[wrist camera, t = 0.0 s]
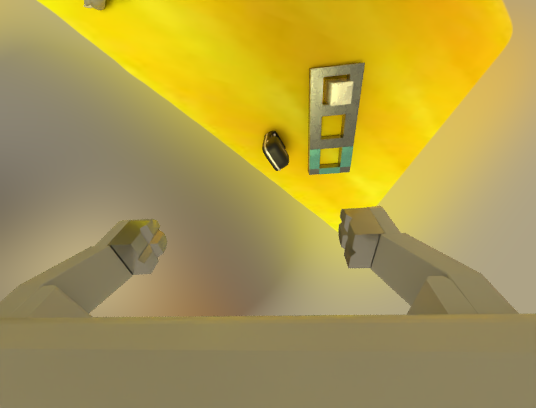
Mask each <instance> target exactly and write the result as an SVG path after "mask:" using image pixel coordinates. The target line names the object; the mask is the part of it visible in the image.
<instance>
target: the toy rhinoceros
mask: <svg viewBox="0 0 536 408" xmlns="http://www.w3.org/2000/svg"><path fill="white" fill-rule="evenodd" d="M105 1H106V0H84V4H85V5H84V7H87V8H95V9H97V10H102V9H104V8H105Z"/></svg>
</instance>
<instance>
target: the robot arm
mask: <svg viewBox="0 0 536 408" xmlns="http://www.w3.org/2000/svg"><path fill="white" fill-rule="evenodd" d="M340 218H341V220H342V223H341V224H339V240H340V244H341V247H343V248H344V249H345V252H344V256H345V259H346V262H347V265H348V268H371V270H372V271H373V272H375V273H376V274H377V275H378V276H379V277H380V278H381V279H383V281H384V282H385V283H386V284H388V285H389V286H390V287H391V288H392V289H393V290H394V291H395V292H396V293H397V294H399V295H400V296H401V297H402V298H403V299H404V300H405V301H406V302H407V303H409V305H410V306H411V308H410V310H409V311H408V313H407V315H311V316H310V315H308V316H307V315H305V316H197V317H196V316H195V317H194V316H189V317H92V316H91V315H89V313H90V312H91V311H92V310H94V309H95V308H96V307H97V306H98V305H99V304H101V303H102V302H103V301H104V300H105V299H106V298H107V297H109V296H110V295H111V294H112V293H113V292H114V291H116V290H117V289H118V288H119V287H120V286H121V285H123V284H124V283H125V282H126V281H127V280H128V279H130V278H131V277H132V275H137V274H151V273H152V271H153V270H154V268H155V266H156V264H157V263H158V257H159V256H160V255H162V254H163V253H164V251H165V249H166V245H167V239H166V236H165V234H164V233H163V232H162V231H160V230H159V228H160V225H159V223H158V221H157V220H154V219H143V220H122V221H119V222H118V223H117V224H116V225H115V226H114V227H113V228H112V229H111V230H110V231H109V232H108V233H107V234H106V235H105V236H104V237H103V238H102V239H101V240H100V241H99V242H98V243H97V244H96V245H95V246H93V247H89V248H87V249H85V250H84V251H82V252H80V253H78V254H76V255H75V256H72V257H71V258H69V259H67V260H65V261H63V262H61V263H60V264H58V265H56V266H54V267H52V268H50V269H48V270H47V271H45V272H43V273H41V274H39V275H37V276H35V277H34V278H32V279H30V280H28V281H26V282H24V283H23V284H20V285H19V286H18V287H17V288H16V289H14V290H13V291H12V292H11V293H10V294H9V295H8V296H7V297H5V298H4V299H3V300H2V301H1V302H0V408H536V314H519V313H518V312H517V311H516V310H515V309H514V308H513V307H512V306H511V305H510V304H509V303H508V301H507V300H506V299H505V298H504V297H503V296H502V295H501V294H500V293H499V292H498V291H497V290H496V289H495V288H494V287H493V285H492V284H491V283H490V282H489V281H488V280H487V279H486V278H485V277H484V276H483V275H482V274H481V273H479V272H477V271H475V270H473V269H471V268H469V267H467V266H466V265H464V264H462V263H460V262H458V261H456V260H454V259H453V258H451V257H449V256H447V255H445V254H443V253H441V252H439V251H438V250H436V249H434V248H432V247H430V246H428V245H426V244H424V243H423V242H421V241H419V240H417V239H415V238H413V237H411V236H410V235H408V234H406V233H400V231H399V230H398V228H397V227H396V226H395V224H394V223H393V221H392V220H391V219H390V218H389V216H388V214H387V213H386V212H385V210H384V209H383V208H382V207H381V206H375V207H367V208H351V209H342V210H341V214H340Z"/></svg>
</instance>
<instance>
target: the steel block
mask: <svg viewBox="0 0 536 408" xmlns="http://www.w3.org/2000/svg"><path fill="white" fill-rule="evenodd" d="M352 89H353V81H351V80H348V79H345V78H337V79H328V80H325V87H324V100H325V101H326V102H327V103H328V104H329V105H330V106H334V105H344V104H351V98H352Z"/></svg>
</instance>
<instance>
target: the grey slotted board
mask: <svg viewBox="0 0 536 408" xmlns="http://www.w3.org/2000/svg"><path fill="white" fill-rule="evenodd" d="M364 65H365V63H353V64H345V65H336V66H328V67H319V68H311V69H309V143H308V172H309V175H312V174H329V173H341V172H349V171H350V165H351V158H352V151H353V143H354V136H355V129H356V122H357V115H358V108H359V100H360V93H361V86H362V79H363V72H364ZM346 74H347V79H348V80H351V81H353V89H352V98H351V104H344V105H334V106H330V105H329V104H328V103H322V98H323V77H328V76H337V75H346ZM341 114H343V118H342V128H341V135H332V136H321V119H322V116H331V115H341ZM337 147H339V157H338V163H333V164H320V149H325V148H337ZM319 164H320V165H319Z"/></svg>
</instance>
